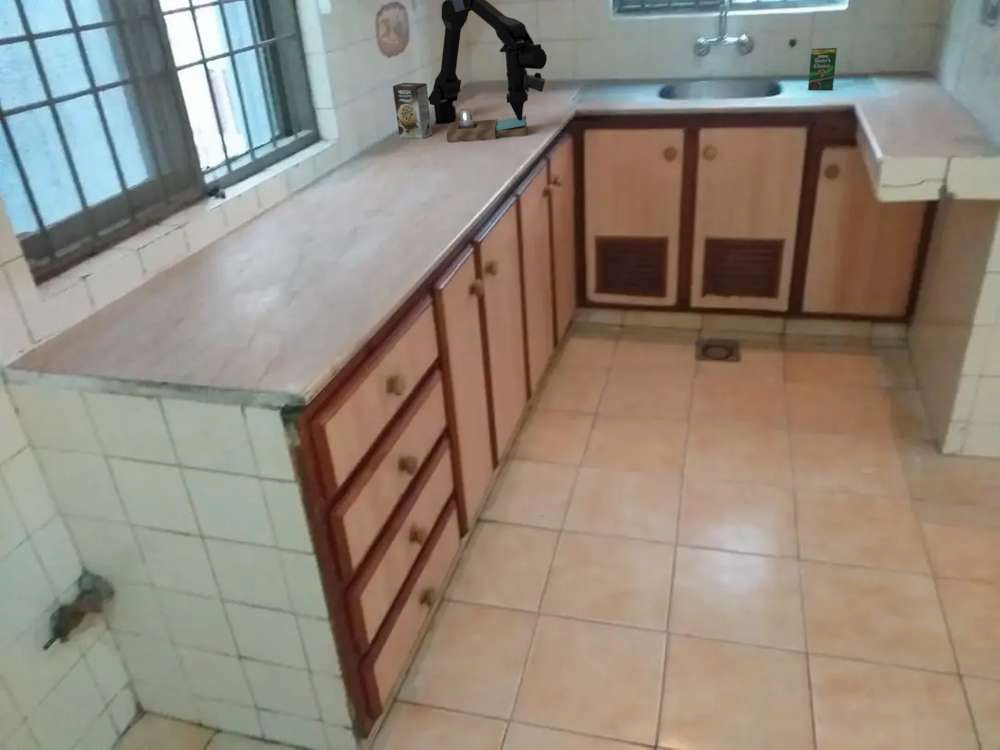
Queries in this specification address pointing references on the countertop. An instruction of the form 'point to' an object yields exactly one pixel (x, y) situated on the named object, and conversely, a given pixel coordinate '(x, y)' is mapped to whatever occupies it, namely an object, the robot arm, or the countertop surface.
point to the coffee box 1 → (412, 110)
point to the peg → (467, 118)
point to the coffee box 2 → (822, 69)
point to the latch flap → (510, 123)
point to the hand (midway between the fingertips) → (520, 120)
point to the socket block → (482, 131)
